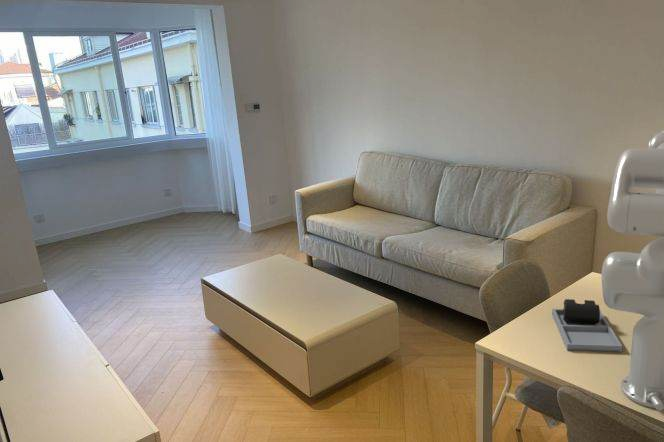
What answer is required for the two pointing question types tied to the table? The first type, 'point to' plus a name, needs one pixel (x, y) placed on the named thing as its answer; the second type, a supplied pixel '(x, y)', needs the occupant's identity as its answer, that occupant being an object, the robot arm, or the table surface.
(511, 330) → the table surface
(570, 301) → the end cap
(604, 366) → the table surface
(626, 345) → the table surface
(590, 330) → the divided grey tray
